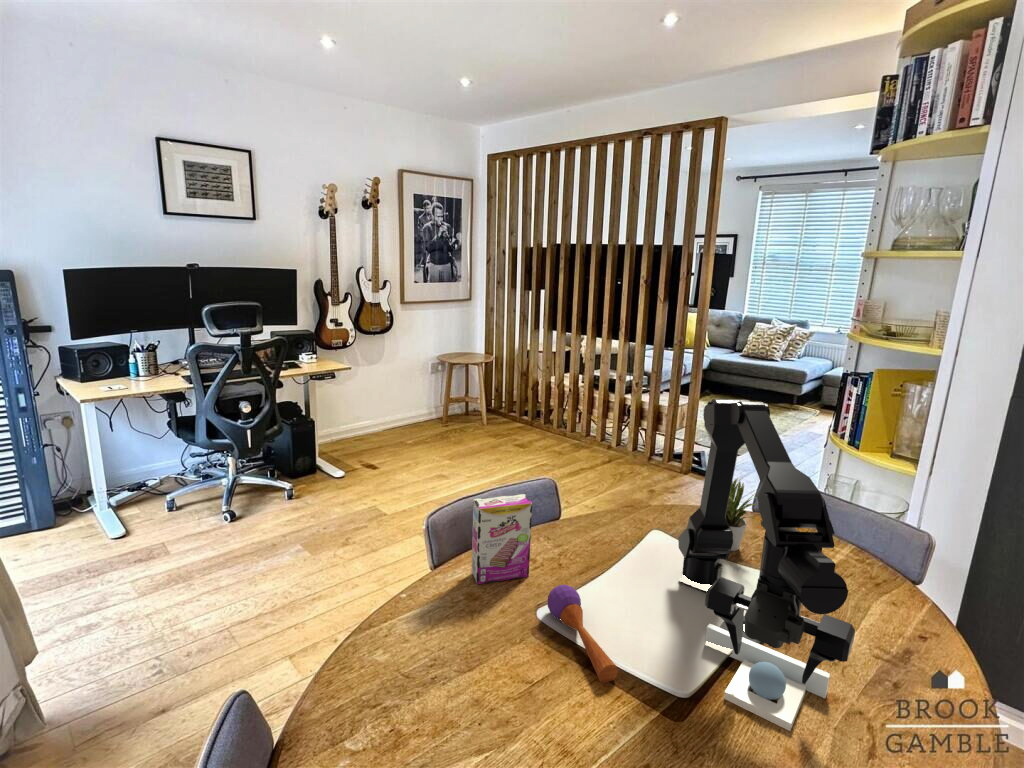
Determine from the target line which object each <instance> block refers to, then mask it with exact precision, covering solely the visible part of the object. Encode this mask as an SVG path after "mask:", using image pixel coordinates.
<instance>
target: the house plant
mask: <svg viewBox="0 0 1024 768" xmlns="http://www.w3.org/2000/svg"><path fill="white" fill-rule="evenodd" d="M701 477H702V478H703V479H705V476H701ZM738 479H739V478H738V477H737V478H735V479H733V480H732V486H731V491H730V496H729V501H728V507H727V512H726V520H727V522H728V524H729V526H730V528H731V530H732V533H733V545H732V548H731V551H730V552H736V551H738V550H739V549H740V546H741V543H742V540H743V536H744V533H745V530H746V527H747V523H748V522H747V521H746V520H745V519H746V518H748V516H744V515H745V514H746V515H747V514H748V512H747V511H746V510H745V509H747V508H748V507H750V506H757V504H756V503H749V502H750V501H751V500H753V499H757V496H756V497H754V498H753V496H755V495H757V492H755V493H753V494H752V495H751V496H750V497H749V498H747V499H746V500H745V501H744V502H743V503H742V504H741V505H740V503H741V501H742V497H743V494H744V490H745V484H744V482H742V483H741V479H739V481H738ZM737 481H738V482H737ZM739 506H740V507H739ZM754 517H755V516H749V518H751V519H752V520H755V518H754Z"/></svg>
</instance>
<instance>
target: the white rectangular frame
mask: <svg viewBox="0 0 1024 768" xmlns="http://www.w3.org/2000/svg"><path fill="white" fill-rule="evenodd" d="M753 665H755V664H753V663H751V662H749V661H746V660H743V662H741V664H740V666H739V667H738V669H737V671H736V672H735V674H734V676H733V678H732V679H731V681H730V683H729V684H728V686H727V688H726V689H725V690H724V696H723V697H724V698H723V699H724V700H726V701H728V702H730V703H732V704H734V705H736V706H738V707H740V708H742V709H744V710H746V711H749V712H751V713H753V714H754V715H757V716H758V717H760V718H763V719H765V720H766V721H769V722H771V723H772V724H774V725H777V726H779V727H781V728H783V729H784V730H787V731H789V732H790V731H791V730H792V728H793V725H794V722H795V721H796V718H797V715H798V713H799V710H800V708H801V705H802V703H803V700H804V698H805V696H806V691H807V690H806V686H803V685H801V684H799V683H796V682H794V681H792V680H790V679H787V678H785V681H786V689H785V692H784V693H783V695H782V696H781V697H780V698H778V699H777V703H776V702H774V701H773V700H767V699H765V698H763V697H761V696H759V695H757V694H756V693H755V692H752V691H751V690H753V689H752V688H751V686H750V683H749V672H750V669H751V668H752V666H753Z"/></svg>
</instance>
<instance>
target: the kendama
mask: <svg viewBox="0 0 1024 768" xmlns="http://www.w3.org/2000/svg"><path fill="white" fill-rule="evenodd" d="M581 601H582V599H581V597H580V594H579V592H578V591H577V590H576V589H575V588H574V587H573V586H570V585H567V584H559V585H557V586H555V587H554V588H552V589H551V591H550V592H549V593H548V595H547V608H548V611H549V612H550V614H551V616H553V617H554V616H555V617H556V618H555V617H554V618H555V619H557V618H558V619H557V620H559V619H561V620H560V621H561V623H562V624H564V625H565V624H566V626H567V627H570V628H572V629H574V630H576V631H577V632H578V635H579V637H580V639H581V641H582V644H583V647H584V648H585V650H586V652H587V655H588V657H589V659H590V662H591V664H592V667H593V669H594V671H595V673H596V676H597V678H598V680H599V682H601V683H608V682H612V681H614V680H615V679H616V677H617V676H618V674H619V669H618V668H619V667H618V666H617V665H616V663H614V661H613V660H612V659H611V658H610V657H609V656H608V654H607V653H606V652H605V651H604V650H603V648H602V647H601V646H600V645H599V644H598V642H596V640H595V639H594V638H593V636H592V635H591V634H590V633H589V632H588V631H587V630H586V628H585V627H584V619H583V618H584V615H583V611H584V610H583V608H582V602H581Z"/></svg>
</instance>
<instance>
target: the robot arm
mask: <svg viewBox="0 0 1024 768" xmlns="http://www.w3.org/2000/svg"><path fill="white" fill-rule="evenodd" d="M702 415H703V422H704V429H705V431H706V432H707V435H708V436H709V439H710V445H709V447H710V448H709V453H708V457H707V465H706V471H705V476H704V477H705V478H704V482H703V487H702V492H701V493H702V494H701V501H700V505H699V508H697V510H695V512H694V513H692V514H691V515H690V516H689V518H688V522H687V526H686V528H685V529H684V530H683V531H682V532H681V534H679V536H678V549H679V551H680V552H681V555H682V556H683V562H682V563H683V566H682V573H681V574H683V575H685V576H686V577H687V578H688V579H690V580H691V581H694V582H697V583H700V584H710V585H712V586H711V587H710V588H709V589H708V591H707V593H706V594H705V601H704V606H705V607H706V608H707V609H709V610H710V611H711V610H712V611H713V614H714V615H715V616H717V617H719V618H720V619H721V620H722V621H723V622H725V624H726V626H727V628H728V631H729V634H730V638H731V642H732V645H733V649H734V652H735V654H737V655H738V654H739V652H740V648H741V643H742V632H743V618H744V616H745V634H746V636H747V637H749V638H751V639H756V640H758V641H761V643H763V644H765V645H767V646H768V647H769V648H773V649H780V648H782V647H783V645H784V644H787V645H791V643H792V644H793V643H794V644H796V645H799V644H800V643H801V640H802V638H803V635H804V634H808V635H810V636H813V637H814V642H813V645H812V646H811V649H810V651H809V655H808V658H807V662H806V667H805V670H804V673H803V677H802V683H803V684H805V683H806V682H807V680H808V679H809V677H810V676H811V674H812V673H813V671H814V670H815V669H816V668H817V667H818V666H819V665H821V663H822V662H824V661H827V662H830V663H833V662H835V661H839V662H841V663H842V662H845V663H846V662H848V660H849V656H850V654H851V650H852V648H853V644H854V640H855V634H856V630H855V628H854V626H853V624H852V623H850V622H847V621H844V620H841V619H839V618H836V617H833V616H830V615H829V614H831V613H833V612H836V611H838V610H839V609H840V608H841V607H842V606H844V604H845V602H846V601H847V599H848V596H849V589H848V586H847V582H846V581H845V579H844V578H843V577H842V576H841V575H840V574H839V573H838V572H837V571H836V563H835V561H833V560H832V559H831V558H830V557H828V556H826V555H825V554H824V552H823V549H834V548H835V542H834V537H833V536H834V535H835V530H834V527H833V524H832V520H831V517H830V515H829V511H828V508H827V503H826V501H825V499H824V497H823V496H822V493H821V491H820V490H819V488H818V487H817V486H816V485H815V482H814V481H813V480H812V479H811V478H810V477H809V476H808V475H807V474H805V473H804V472H802V471H801V470H799V469H797V468H796V467H795V465H794V464H793V462H792V459H791V458H790V456H789V453H788V452H787V450H786V447H785V446H784V443H783V442H782V439H781V437H780V435H779V432H778V430H777V429H776V427H775V425H774V423H773V421H772V419H771V411H770V407H769V405H768V403H765V402H763V401H752V400H751V401H750V400H748V399H737V398H736V399H733V398H731V399H730V398H729V399H728V398H712V399H711V400H710V401H708V402H707V404H706V405H705V406H704V408H703V414H702ZM744 445H745V446H746V449H747V452H748V454H749V457H750V458H751V462H752V463H753V466H754V468H755V470H756V473H757V476H758V479H759V481H760V482H759V483H760V486H759V488H758V491H757V493H756V497H757V498H756V499H757V502H758V504H757V506H758V511H759V515H760V517H761V521H760V525H761V527H762V528H763V529H764V530H765V531H764V536H763V545H762V552H761V560H760V568H759V574H758V575H759V577H758V579H757V583H756V587H755V590H754V592H753V593H752V595H751V596H748V595H745V586H744V584H742V583H739V582H736V581H734V580H730V579H728V578H725V577H723V576H722V572H723V564H722V563H721V560H725V561H726V560H728V559H729V556H730V553H731V552H732V551H731V548H732V545H733V533H732V530H731V528H730V526H729V524H728V522H727V520H726V512H727V507H728V501H729V496H730V491H731V486H732V480H733V481H734V474H735V471H736V470H735V468H736V464H737V459H738V453H739V450H740V449H741V448H742V447H743V446H744ZM814 528H815V529H816V531H800V530H798V529H814ZM802 605H803V607H804V608H805V609H806V610H808V611H809V612H810V613H813V614H817V615H822V617H821V619H820V622H819V621H816V620H814V619H811V618H808V617H805V616H803V615H801V610H802ZM745 611H746V612H745Z"/></svg>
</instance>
